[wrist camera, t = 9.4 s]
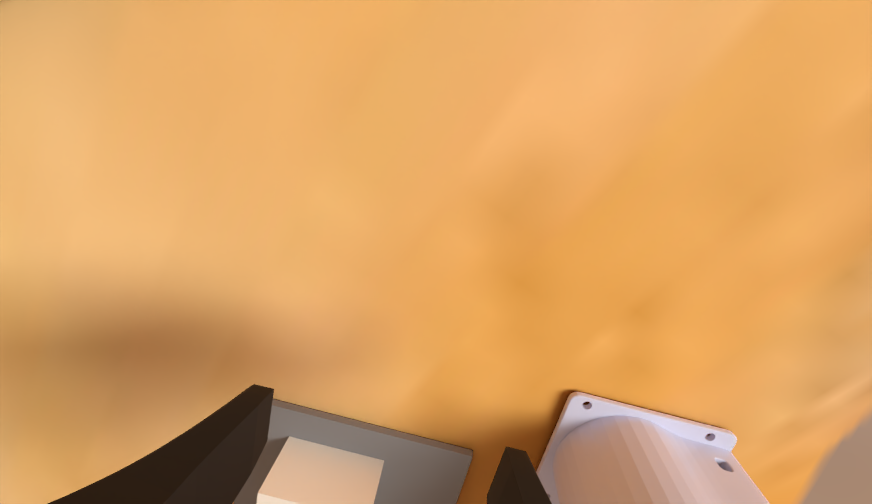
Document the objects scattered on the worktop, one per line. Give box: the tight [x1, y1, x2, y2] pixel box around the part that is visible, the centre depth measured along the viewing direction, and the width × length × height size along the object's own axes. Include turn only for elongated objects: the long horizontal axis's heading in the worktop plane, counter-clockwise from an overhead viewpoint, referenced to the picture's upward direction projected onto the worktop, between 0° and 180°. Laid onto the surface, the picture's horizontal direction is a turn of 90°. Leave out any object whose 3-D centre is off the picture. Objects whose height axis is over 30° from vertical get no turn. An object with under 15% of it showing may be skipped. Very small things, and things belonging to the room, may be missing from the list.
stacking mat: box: [234, 399, 473, 504], centre depth 27 cm, size 14×10×1 cm
